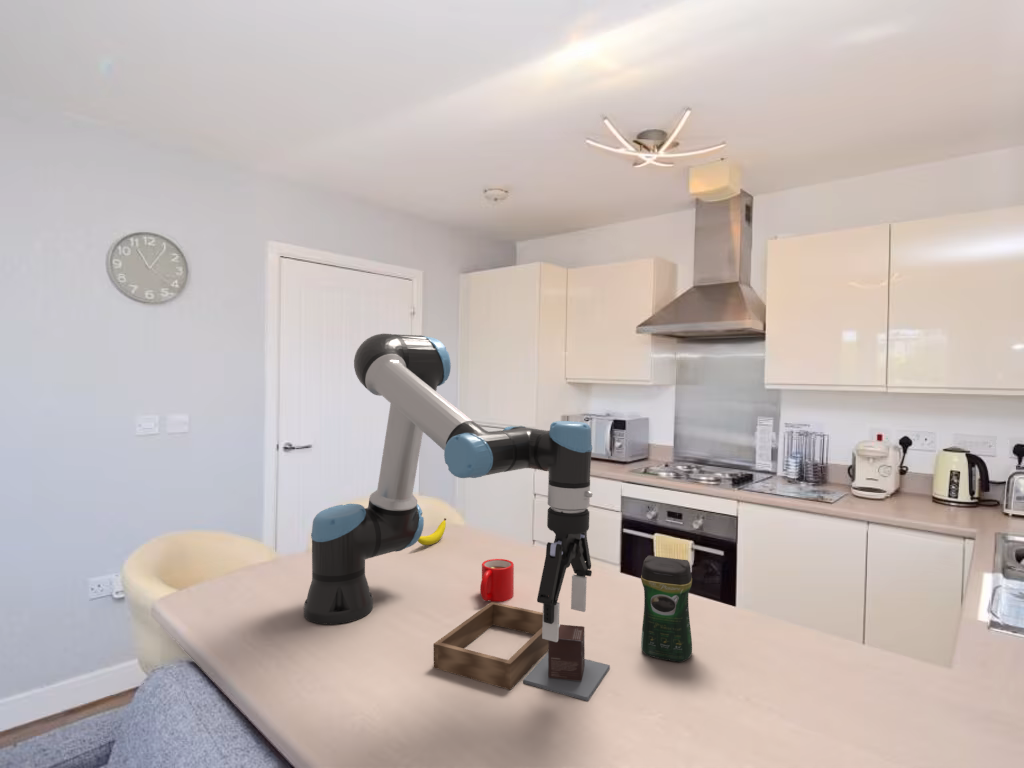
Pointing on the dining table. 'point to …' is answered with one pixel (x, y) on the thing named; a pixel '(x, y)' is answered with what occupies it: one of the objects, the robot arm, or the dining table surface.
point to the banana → (433, 535)
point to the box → (567, 654)
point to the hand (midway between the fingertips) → (565, 624)
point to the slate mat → (568, 687)
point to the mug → (497, 580)
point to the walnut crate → (485, 666)
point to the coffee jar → (666, 608)
